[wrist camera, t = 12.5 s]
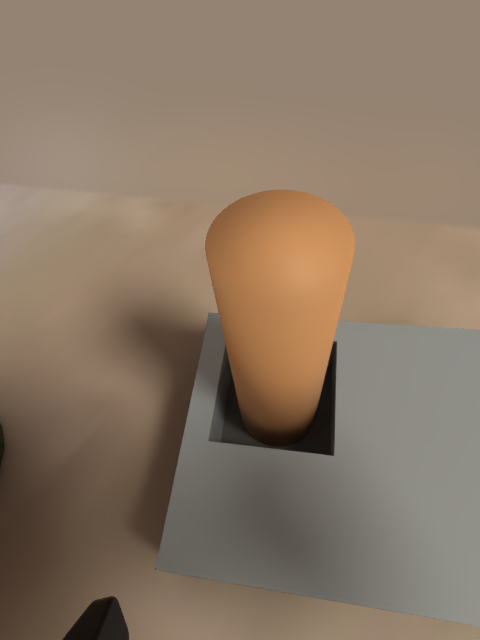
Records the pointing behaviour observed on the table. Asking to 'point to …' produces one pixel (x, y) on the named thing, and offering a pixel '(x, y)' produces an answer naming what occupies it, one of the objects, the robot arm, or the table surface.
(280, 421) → the pin
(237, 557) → the socket block
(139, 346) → the table surface
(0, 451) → the wine bottle
